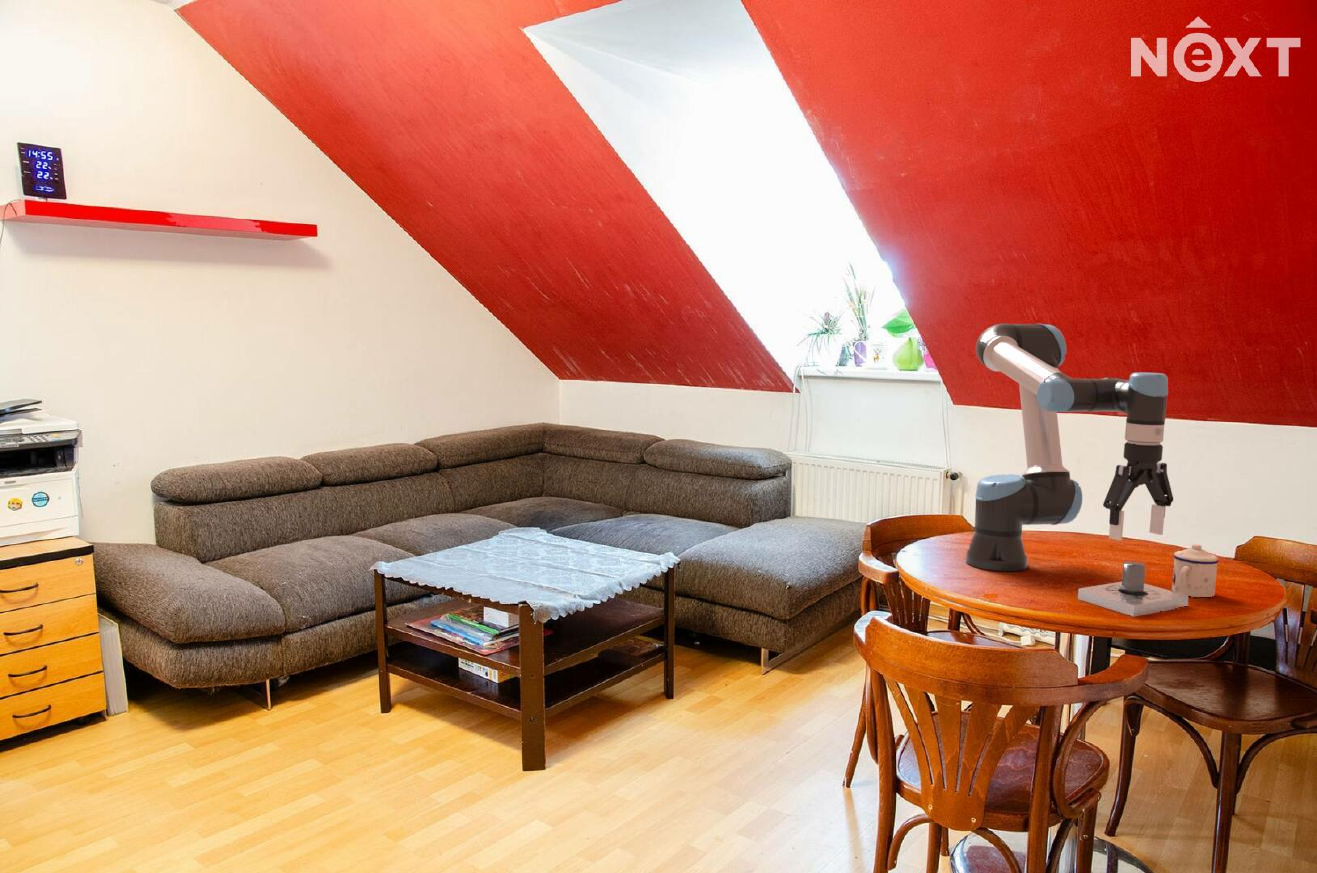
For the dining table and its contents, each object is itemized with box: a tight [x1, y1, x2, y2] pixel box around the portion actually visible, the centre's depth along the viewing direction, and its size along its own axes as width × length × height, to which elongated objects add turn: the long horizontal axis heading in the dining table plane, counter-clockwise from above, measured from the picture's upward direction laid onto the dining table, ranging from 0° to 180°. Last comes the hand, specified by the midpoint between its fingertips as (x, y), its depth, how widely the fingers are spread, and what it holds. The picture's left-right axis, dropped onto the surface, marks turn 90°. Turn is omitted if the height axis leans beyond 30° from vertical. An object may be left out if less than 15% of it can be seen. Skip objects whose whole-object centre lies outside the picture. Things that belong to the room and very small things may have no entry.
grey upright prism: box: [1121, 561, 1146, 596], centre depth 202 cm, size 4×4×9 cm
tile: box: [1077, 581, 1189, 617], centre depth 203 cm, size 14×18×2 cm
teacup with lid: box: [1171, 543, 1219, 598], centre depth 209 cm, size 12×9×12 cm
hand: (1135, 536), depth 201 cm, fingers open, 13 cm apart
